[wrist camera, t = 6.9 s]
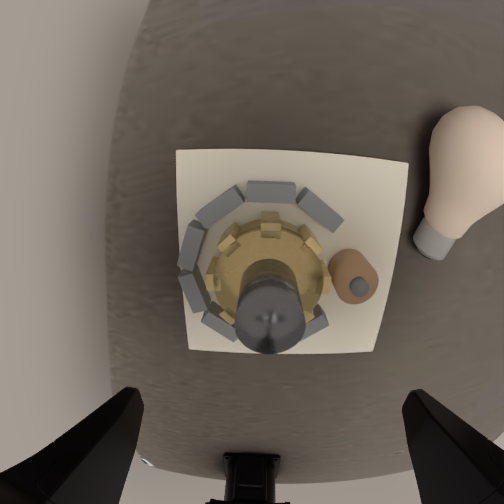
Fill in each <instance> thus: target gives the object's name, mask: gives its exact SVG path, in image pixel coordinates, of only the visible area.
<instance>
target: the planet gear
mask: <svg viewBox="0 0 504 504" xmlns="http://www.w3.org/2000/svg"><path fill="white" fill-rule="evenodd" d="M217 248H218V249H219V250H220V251H221V253H220V256H219V257H215V256H213V257H212V260H211V262H210V264H209V267H208V269H207V272H206V290H207V291H214V292H215V295H216V298H217V300H218V302H219V304H220V306H221V308H220V312H219V315H220V316H221V317H222V318H223V319H224V320H225V321H227V322H228V323H229V324H230V325H232V324H234V323H235V325H234V327H235V332H236V335H237V337H238V339H239V340H240V342H241V343H242V344H243V345H244V346H246V347H247V348H248V349H250V350H252V351H255V352H258V353H262V354H277V353H281V352H284V351H287V350H289V349H291V348H292V347H294V346H295V345H296V344H297V343H298V342H299V341H300V340H301V338H302V337H303V335H304V332H305V328H306V323H308V322H309V321H310V320H312V319H313V318H314V317H315V316H314V313H313V309H314V307H315V306H316V304H317V303H318V301H319V299H320V296H321V294H329V292H330V285H331V278H332V277H331V275H330V273H329V271H328V269H327V267H326V265H325V263H324V261H323V260H319V258H318V256H317V255H318V254H319V253H321V252H322V251H323V249H322V247H321V245H320V244H319V242H318V240H317V238H316V236H315V235H314V234H313V233H312V232H311V230H310V229H309V228H308V227H307V226H306V225H305V224H303V225H302V226H301V227H300V228H297V227H296V226H294V225H293V224H291V223H289V222H286V221H283V220H280V215H279V212H267V211H261V219H257V220H253V221H250V222H248V223H246V224H243V225H242V226H239V225H238V224H237V223H236V222H234V223H232V224H231V225H230V226H229V227H228V228H227V229H226V230H225V231H224V232H223V233H222V236H221V238H220V240H219V243H218V245H217Z"/></svg>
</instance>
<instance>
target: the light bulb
mask: <svg viewBox="0 0 504 504" xmlns="http://www.w3.org/2000/svg"><path fill="white" fill-rule="evenodd" d="M429 161H430V188H429V196H428V198H427V201H426V204H425V207H424V214H425V217H424V218H423V219H422V221H421V223H420V225H419V226H418V228H417V230H416V232H415V233H414V235H413V241H414V242H415V244H416V246H417V248H418V251H419V252H420V253H421V254H422V255H423V256H424V257H426V258H428V259H435V260H443V259H444V257H445V256H446V254H447V253H448V251H449V250H450V248H451V246H452V245H453V243H454V242H455V240H456V239H458V238H461V237H462V236H463V235H464V233H465V232H466V231H467V230H468V228H469V227H470V226H471V225H472V224H473V223H475V222H476V221H478V220H479V219H480V218H482V217H483V216H485V215H486V214H488V213H489V212H491V211H493V210H494V209H496V208H497V207H499V206H501V205H502V204H504V121H503V120H502V119H501V118H499V117H498V116H497V115H496V114H495V113H493V112H491V111H489V110H486V109H484V108H482V107H479V106H462V107H457V108H455V109H453V110H451V111H450V112H448V113H446V114H445V115H443V116H442V117H441V119H440V120H439V122H438V123H437V125H436V126H435V128H434V129H433V131H432V136H431V141H430V146H429Z"/></svg>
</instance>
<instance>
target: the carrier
mask: <svg viewBox="0 0 504 504" xmlns="http://www.w3.org/2000/svg"><path fill="white" fill-rule="evenodd" d="M408 164H409V163H404V162H398V161H391V160H384V159H377V158H369V157H361V156H352V155H342V154H332V153H320V152H306V151H290V150H267V149H188V150H176V183H177V213H178V233H179V250H180V255H179V258H178V262H177V266H178V267H181V272H180V274H179V276H178V277H177V278H178V280H179V282H180V285H181V287H182V289H183V299H184V309H185V319H186V328H187V337H188V345H189V349H192V350H205V351H219V352H236V353H258V352H255V351H252V350H250V349H248V348H247V347H246V346H244V345H243V344H242V343H241V342H240V340H239V339H238V337H237V335H236V332H235V327H234V325H235V323H234V324H232V325H230V324H229V323H228V322H227V321H225V320H224V319H223V318H222V317H221V316H220V315H219V312H220V308H221V306H220V304H219V302H218V300H217V298H216V295H215V292H214V291H207V290H206V272H207V269H208V267H209V264H210V262H211V260H212V257H213V256H215V257H219V256H220V253H221V251H220V250H219V249H218V248H217V245H218V243H219V240H220V238H221V236H222V233H223V232H224V231H225V230H226V229H227V228H228V227H229V226H230V225H231V224H232V223H234V222H236V223H237V224H238V225H239V226H242V225H243V224H246V223H248V222H250V221H253V220H257V219H261V211H267V212H279V215H280V220H283V221H286V222H289V223H291V224H293V225H294V226H296V227H297V228H300V227H301V226H302V225H303V224H305V225H306V226H307V227H308V228H309V229H310V230H311V232H312V233H313V234H314V235H315V236H316V238H317V240H318V242H319V244H320V245H321V247H322V249H323V251H322V252H321V253H319V254H318V255H317V256H318V258H319V260H323V261H324V263H325V265H326V267H327V269H328V271H329V273H330V275H331V277H332V278H331V285H330V292H329V294H321V296H320V299H319V301H318V303H317V304H316V306H315V307H314V309H313V313H314V316H315V317H314V318H313V319H312V320H310V321H309V322H308V323H306V328H305V332H304V335H303V337H302V338H301V340H300V341H299V342H298V343H297V344H296V345H295V346H294V347H292V348H291V349H289V350H287V351H284V352H281V353H277V354H328V353H353V352H370V351H373V348H374V345H375V341H376V338H377V335H378V331H379V328H380V324H381V320H382V317H383V313H384V309H385V305H386V301H387V297H388V293H389V288H390V284H391V279H392V275H393V270H394V265H395V260H396V255H397V249H398V244H399V238H400V232H401V225H402V218H403V211H404V204H405V195H406V186H407V176H408Z"/></svg>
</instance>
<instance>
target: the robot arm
mask: <svg viewBox="0 0 504 504" xmlns="http://www.w3.org/2000/svg"><path fill="white" fill-rule="evenodd" d="M143 411H144V404H143V401H142V398H141V395H140V392H139V390H138V389H137V388H133V387H125V388H123V389H122V390H121V391H120V392H118V393H117V394H116V395H114V396H113V397H112V398H110V399H109V400H108V401H107V402H105V403H104V404H103V405H101V406H100V407H99V408H98V409H96V410H95V411H94V412H92V413H91V414H90V415H88V416H87V417H86V418H85V419H83V420H82V421H80V422H79V423H78V424H76V425H75V426H74V427H72V428H71V429H70V430H68V431H67V432H65V433H64V434H63V435H62V436H60V437H59V438H57V439H56V440H55V441H54V442H52V443H50V444H49V445H48V446H46V447H45V448H43V449H42V450H41V451H39V452H38V453H36V454H35V455H33V456H31V457H29V458H28V459H26V460H24V461H22V462H20V463H18V464H17V465H15V466H13V467H11V468H9V469H7V470H5V471H3V472H1V473H0V504H119V500H120V497H121V494H122V491H123V487H124V484H125V481H126V477H127V474H128V471H129V468H130V465H131V462H132V459H133V456H134V453H135V449H136V446H137V441H138V436H139V431H140V426H141V421H142V416H143ZM402 414H403V419H404V425H405V431H406V438H407V444H408V449H409V453H410V456H411V460H412V464H413V468H414V472H415V476H416V480H417V485H418V489H419V493H420V498H421V503H422V504H504V450H503V449H501V448H500V447H498V446H497V445H496V444H494V443H493V442H492V441H490V440H488V439H487V438H486V437H485V436H483V435H482V434H481V433H479V432H478V431H477V430H475V429H474V428H473V427H471V426H470V425H469V424H467V423H466V422H465V421H463V420H462V419H461V418H459V417H458V416H457V415H455V414H454V413H453V412H452V411H450V410H449V409H448V408H446V407H445V406H444V405H442V404H441V403H440V402H438V401H437V400H436V399H434V398H433V397H432V396H430V395H429V394H428V393H426V392H425V391H424V390H422V389H417V390H412V391H410V393H409V394H408V396H407V398H406V400H405V402H404V404H403V407H402ZM223 462H224V470H225V477H226V486H225V496H224V501H222V500H215V499H210V502H207V503H205V504H290V502H285V503H275V479H276V477H277V473H278V468H279V464H280V456H278V455H244V454H228V453H226V454H223Z"/></svg>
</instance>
